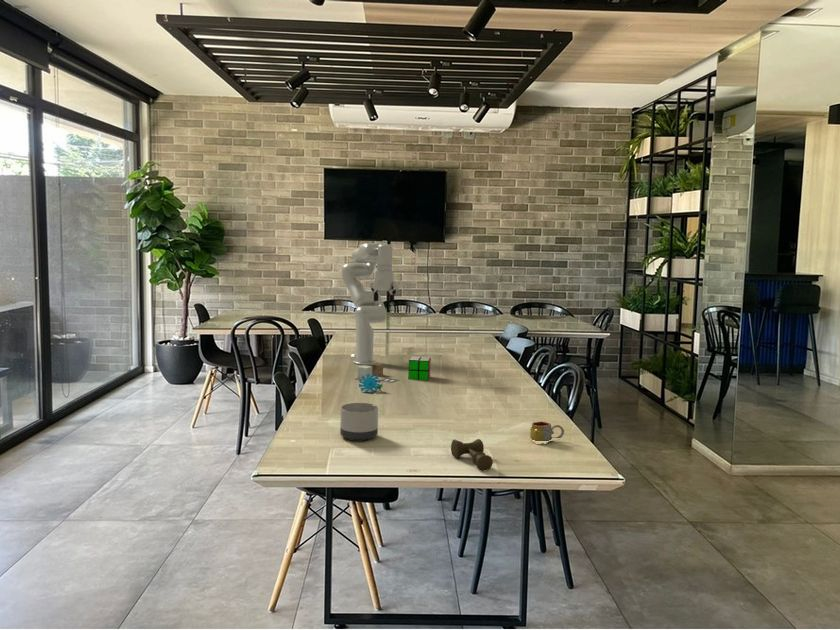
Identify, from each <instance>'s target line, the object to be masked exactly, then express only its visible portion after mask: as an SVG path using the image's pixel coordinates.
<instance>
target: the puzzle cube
mask: <svg viewBox="0 0 840 630" xmlns="http://www.w3.org/2000/svg"><path fill="white" fill-rule="evenodd" d="M431 359H432V358H431V357H429V356H410V358H409V360H408V377H407V378H408V380H419V381H429V380H430V377H431V364H432V363H431V361H432V360H431Z"/></svg>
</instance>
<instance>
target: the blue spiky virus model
mask: <svg viewBox="0 0 840 630" xmlns="http://www.w3.org/2000/svg"><path fill="white" fill-rule="evenodd" d="M369 376H370V375H369V374H367V378H366V379H365V376H362V379H363V380H364V381H362V380H361V379H360V380H358V383H359V384H358V387H359V388H360V391H361V392H363V391H364V392H365V394H368V393H370V394H373V393H374V392H373V389H374V391H375V392H377V391H380V392H381V391H382V388H383V387H384V386H383V383H381V382H382V381H381V378H380V379H379V376H375V375H374V374H372V375H371V377H369ZM368 377H369V378H368ZM380 383H381V384H380Z"/></svg>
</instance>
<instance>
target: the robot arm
mask: <svg viewBox="0 0 840 630" xmlns="http://www.w3.org/2000/svg"><path fill="white" fill-rule="evenodd" d="M351 258H352V260H353V261H354V262H349V263H345V264H344V265H343V266H342V268H341V279H342V281H343V283H344V285H345V287H346V288H347V290H348V292H349V295H350V298H351V300H352V303H353V305H354V307H355V308H356V309H355V312H354V318H355V326H356V328H355V330H356V335H355V337H356V338H355V339H356V341H355V342H356V343H355V353H351V355H350V358H352V359H353V360H352V363H353V364H355V365H359V366H363V365H365V366H369V364H372V363H377V360H375V359H374V337H375V336H374V335H375V334H374V329H373V328H372V326H371V324H381V323H385V322H386V320H387V310H386V309H387V308H386V307H385V303H384V301H383V299H382V296H381V294H380V293H379V292H380V291H383V292H388V293H389V299H388V301H389V304H390V303H394V302H395V295H396V293H397V292H398V290H399V288H400V287H399V285H397V284H395V277H394V271H393V246H392V244H390V243H389V244H387V243H374V242H373V243H372V242H371V243H370V242H367V243H362V244H360V245H359V247H357V248H355V249H354V250H353V251H352V253H351ZM375 269H376V270H375ZM374 272H375V273H374ZM373 274H374V277H373V282H372V283H370V284H369V287H370V290H365V287H364V285H363V283H362V282H360V280H359V279H369V278H371V277H372V276H373Z"/></svg>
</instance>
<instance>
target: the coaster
mask: <svg viewBox="0 0 840 630" xmlns="http://www.w3.org/2000/svg"><path fill="white" fill-rule="evenodd" d="M380 380H381V382H383V383H384V382H385V383H390V384H392V383H396V382H399V381H401V379H397V378H389V377H385V378H382V379H381V378H380Z"/></svg>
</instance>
